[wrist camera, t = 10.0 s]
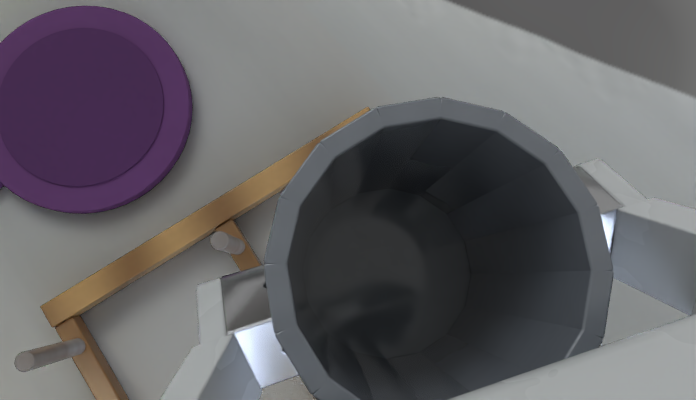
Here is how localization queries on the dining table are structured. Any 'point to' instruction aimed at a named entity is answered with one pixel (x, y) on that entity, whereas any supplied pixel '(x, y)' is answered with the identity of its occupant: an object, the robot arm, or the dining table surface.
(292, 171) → the drying rack
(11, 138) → the lid
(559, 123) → the dining table surface
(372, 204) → the tumbler
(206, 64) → the dining table surface
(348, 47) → the dining table surface
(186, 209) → the dining table surface
